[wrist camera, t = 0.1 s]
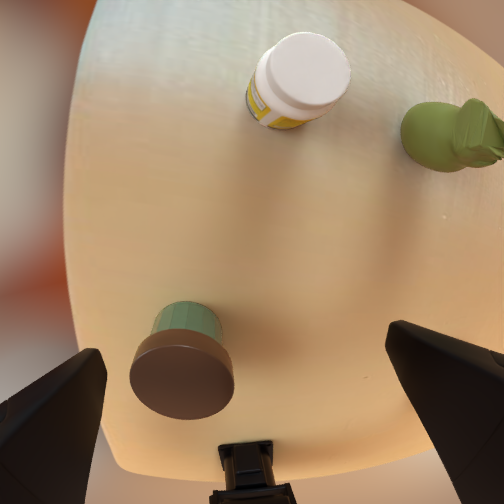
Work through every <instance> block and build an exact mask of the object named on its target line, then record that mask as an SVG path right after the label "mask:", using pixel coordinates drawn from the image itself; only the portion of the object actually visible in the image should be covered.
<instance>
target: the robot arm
mask: <svg viewBox="0 0 504 504" xmlns="http://www.w3.org/2000/svg"><path fill="white" fill-rule="evenodd" d="M385 348H386V351H387V354H388V356H389V358H390V360H391V363H392V365H393V367H394V369H395V372H396V374H397V376H398V379H399V381H400V383H401V385H402V387H403V389H404V391H405V393H406V395H407V396H408V398H409V400H410V402H411V404H412V405H413V407H414V409H415V411H416V413H417V414H418V416H419V418H420V420H421V422H422V424H423V426H424V428H425V429H426V431H427V433H428V435H429V437H430V439H431V441H432V443H433V445H434V447H435V449H436V451H437V452H438V455H439V457H440V459H441V461H442V463H443V464H444V467H445V469H446V471H447V473H448V475H449V477H450V479H451V481H452V482H453V483H452V484H453V486H454V488H455V490H456V493H457V495H458V497H459V499H460V501H461V503H462V504H504V354H501V353H498V352H495V351H492V350H490V351H489V350H488V349H486V348H483V347H480V346H477V345H474V344H471V343H468V342H465V341H462V340H459V339H456V338H453V337H450V336H447V335H444V334H441V333H438V332H436V331H433V330H430V329H427V328H424V327H421V326H418V325H415V324H412V323H409V322H407V321H404V320H398V321H394V322H391V323H390V325H389V328H388V333H387V338H386V342H385ZM106 382H107V370H106V367H105V364H104V361H103V359H102V356H101V353H100V351H99V350H98V349H96V348H86V349H84V350H82V351H81V352H79V353H78V354H76V355H75V356H73V357H71V358H70V359H68V360H67V361H65V362H64V363H63V364H61V365H59V366H58V367H56V368H54V369H53V370H51V371H50V372H49V373H47V374H45V375H44V376H42V377H41V378H39V379H38V380H36V381H34V382H33V383H31V384H30V385H28V386H27V387H25V388H24V389H22V390H21V391H19V392H18V393H16V394H15V395H13V396H11V397H10V398H9V399H8V400H5V401H4V402H2V403H1V404H0V504H84V503H85V496H86V490H87V484H88V478H89V473H90V468H91V462H92V457H93V452H94V448H95V443H96V439H97V434H98V430H99V426H100V421H101V417H102V410H103V403H104V395H105V388H106ZM218 451H219V455H220V460H221V464H222V468H223V471H225V480H226V491H225V490H224V491H218V490H213V495H211V496H209V503H210V504H297V503H296V500H295V497H294V494H293V492H292V489H291V486H290V483H285V484H282V485H276V484H275V479H274V475H273V470H272V465H273V442H272V441H261V442H252V443H242V444H229V445H220V446H218Z"/></svg>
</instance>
